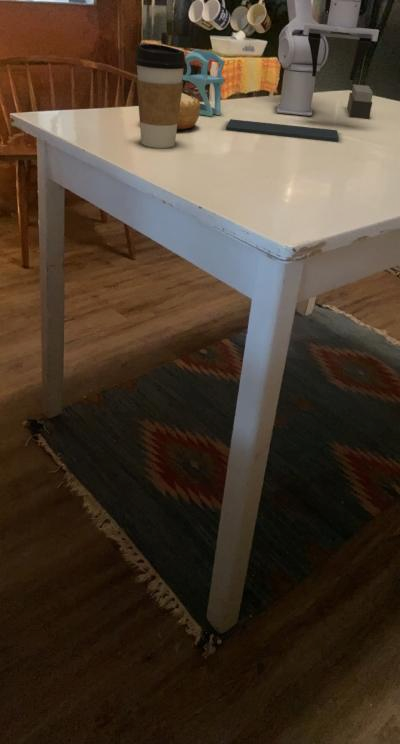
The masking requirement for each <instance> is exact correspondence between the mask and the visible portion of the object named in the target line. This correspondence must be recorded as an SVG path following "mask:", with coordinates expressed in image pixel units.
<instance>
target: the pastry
mask: <svg viewBox="0 0 400 744" xmlns="http://www.w3.org/2000/svg"><path fill="white" fill-rule="evenodd" d="M200 104H201V102H200V100H199V98H197V97H196V96H192V97H191V95H189V94H186V93H183V92H182V95H181V102H180V109H179V117H178V123H177V130H184V129H190V128H193V127H194V126H195V125H196V124H197V122H198V120H199V117H200V109H201V108H200Z"/></svg>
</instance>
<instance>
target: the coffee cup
mask: <svg viewBox="0 0 400 744" xmlns="http://www.w3.org/2000/svg"><path fill="white" fill-rule="evenodd" d="M185 57H186V56H185V51H183V50H181V49H178V48H174V47H171V46H168V45H163V44H156V43H155V44H154V43H141V44H137V48H136V55H135V57H134V65H135V66H136V70H137V72H136V73H137V78H136V87H137V88H136V90H137V102H138V103H137V104H138V115H139V116H138V117H139V127H140V130H139V131H140V143H141V144H142V145H143V146H145V147H149V148H155V149H169V148H173V147H174V146H176V139H177V131H178V129H177V123H178V117H179V109H180V102H181V95H182V93H183V86H184V80H182V79H183V75H184V69H187V64H186V59H185Z"/></svg>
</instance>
